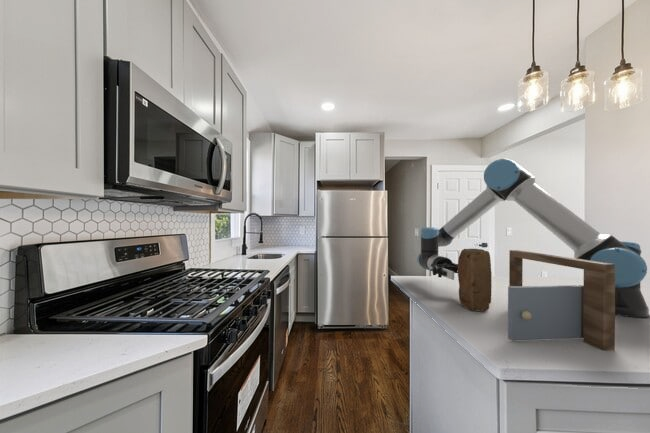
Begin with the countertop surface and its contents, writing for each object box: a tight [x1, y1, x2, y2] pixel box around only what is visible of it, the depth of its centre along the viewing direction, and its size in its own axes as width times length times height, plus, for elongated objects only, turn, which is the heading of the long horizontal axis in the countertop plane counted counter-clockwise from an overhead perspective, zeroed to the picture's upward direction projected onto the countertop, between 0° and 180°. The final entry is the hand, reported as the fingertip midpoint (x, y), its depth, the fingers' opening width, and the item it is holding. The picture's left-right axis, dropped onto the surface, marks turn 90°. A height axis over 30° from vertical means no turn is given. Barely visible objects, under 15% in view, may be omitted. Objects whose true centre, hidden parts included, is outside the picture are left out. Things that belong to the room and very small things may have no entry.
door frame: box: [508, 249, 616, 351], centre depth 78 cm, size 3×28×20 cm, turn 6°
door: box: [507, 284, 584, 342], centre depth 68 cm, size 21×3×13 cm, turn 96°
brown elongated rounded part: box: [457, 248, 492, 312], centre depth 95 cm, size 11×8×20 cm
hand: (472, 275), depth 95 cm, fingers open, 13 cm apart
